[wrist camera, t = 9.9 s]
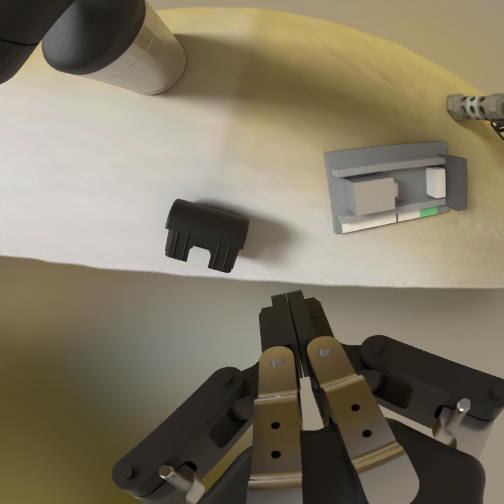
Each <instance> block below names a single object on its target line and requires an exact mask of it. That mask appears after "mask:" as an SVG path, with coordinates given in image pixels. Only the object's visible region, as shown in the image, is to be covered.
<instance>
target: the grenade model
mask: <svg viewBox="0 0 504 504" xmlns="http://www.w3.org/2000/svg"><path fill="white" fill-rule="evenodd" d="M472 98H473V99H472ZM481 98H482V99H481ZM447 110H448V112H449V113H450V115H451V116H452V117H453V119H454V120H455V121H464V120H467V119H477V120H487V121H491V126H492V127H493V129H494V130H495V131H496V132H497V134H498V135H499V136H500V137H501V138H502V140H504V137H503V136H502V135H501V134H500V132H504V128H502V129H499V128H501V127H504V94H500V93H499V94H492V95H490V96H463V95H462V94H454V95H450V96H448V99H447ZM493 122H495V123H496V124H497V125H496V126H494V125H493Z"/></svg>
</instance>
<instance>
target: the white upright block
mask: <svg viewBox="0 0 504 504" xmlns="http://www.w3.org/2000/svg"><path fill="white" fill-rule="evenodd" d="M426 181H427V194H428V195H430V196H433V197H435V198H442V197H446V181H445V169H443V168H439V167H436V166H432V167H426Z"/></svg>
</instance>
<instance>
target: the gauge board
mask: <svg viewBox="0 0 504 504" xmlns="http://www.w3.org/2000/svg"><path fill="white" fill-rule="evenodd" d="M324 159H325V165H326V171H327V178H328V185H329V192H330V200H331V208H332V216H333V225H334V232H335V233H336V234H341V233H346V232H351V231H356V230H361V229H366V228H370V227H375V226H380V225H385V224H390V223H395V222H400V221H404V220H409V219H414V218H419V217H424V216H429V215H434V214H438V213H443V212H448V211H449V207H450V208H452V209H454V210H456V211H459V210H464V209H466V207H467V160H466V159H465V158H461V157H457V156H453V155H448V153H447V142H424V143H408V144H394V145H383V146H373V147H364V148H355V149H347V150H339V151H332V152H325V153H324ZM432 166H436V167H439V168H443V169H445V181H446V197H442V198H435V197H433V196H430V195H428V194H427V181H426V167H432ZM374 173H383V174H385V175H388V176H391V177H393V178H394V181H395V182H397V185H398V196H396V197H395V209H392V210H386V211H381V212H376V213H370V214H365V215H360V216H356V215H355V214H354V213H352V212H351V211H350V210H349V209H347V206H346V197H345V188H344V180H343V178H347V177H354V176H361V175H367V174H374Z"/></svg>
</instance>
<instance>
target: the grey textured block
mask: <svg viewBox="0 0 504 504" xmlns="http://www.w3.org/2000/svg"><path fill="white" fill-rule="evenodd" d="M343 180H344V188H345V197H346V206H347V209H349V210H350V211H351V212H352V213H354V214H355V215H356V216H360V215H365V214H370V213H376V212H381V211H386V210H392V209H395V197H396V196H398V185H397V182H395V181H394V178H393V177H391V176H388V175H385V174H383V173H374V174H367V175H361V176H354V177H347V178H343Z"/></svg>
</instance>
